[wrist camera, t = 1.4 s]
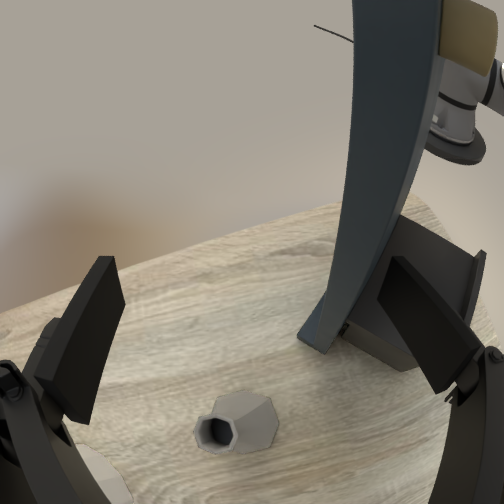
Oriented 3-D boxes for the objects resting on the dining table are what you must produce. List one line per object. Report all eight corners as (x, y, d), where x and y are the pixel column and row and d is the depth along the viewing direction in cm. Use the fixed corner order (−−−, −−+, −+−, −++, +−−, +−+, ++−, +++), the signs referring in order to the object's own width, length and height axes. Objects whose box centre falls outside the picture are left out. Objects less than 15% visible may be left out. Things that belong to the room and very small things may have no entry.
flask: (278, 454, 21) (268, 482, 13) (209, 450, 22) (166, 470, 14) (279, 389, 25) (268, 386, 17) (210, 388, 26) (169, 381, 18)
